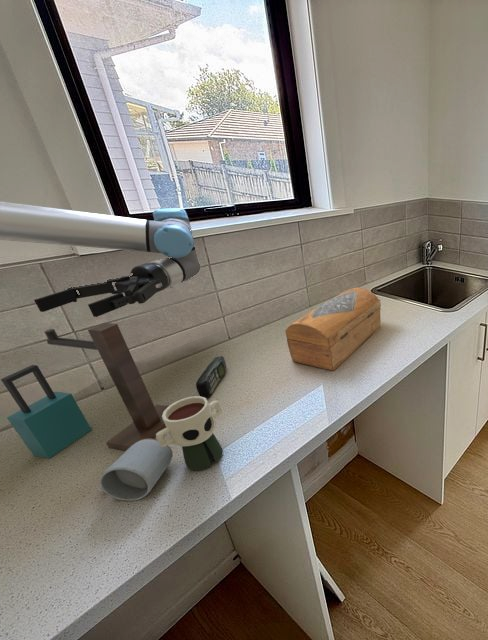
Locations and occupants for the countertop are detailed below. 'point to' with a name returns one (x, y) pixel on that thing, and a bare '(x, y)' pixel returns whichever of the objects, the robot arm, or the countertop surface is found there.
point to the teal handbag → (46, 417)
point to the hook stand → (121, 383)
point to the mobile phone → (211, 377)
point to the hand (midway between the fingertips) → (64, 308)
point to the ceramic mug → (136, 470)
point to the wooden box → (334, 329)
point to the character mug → (192, 430)
